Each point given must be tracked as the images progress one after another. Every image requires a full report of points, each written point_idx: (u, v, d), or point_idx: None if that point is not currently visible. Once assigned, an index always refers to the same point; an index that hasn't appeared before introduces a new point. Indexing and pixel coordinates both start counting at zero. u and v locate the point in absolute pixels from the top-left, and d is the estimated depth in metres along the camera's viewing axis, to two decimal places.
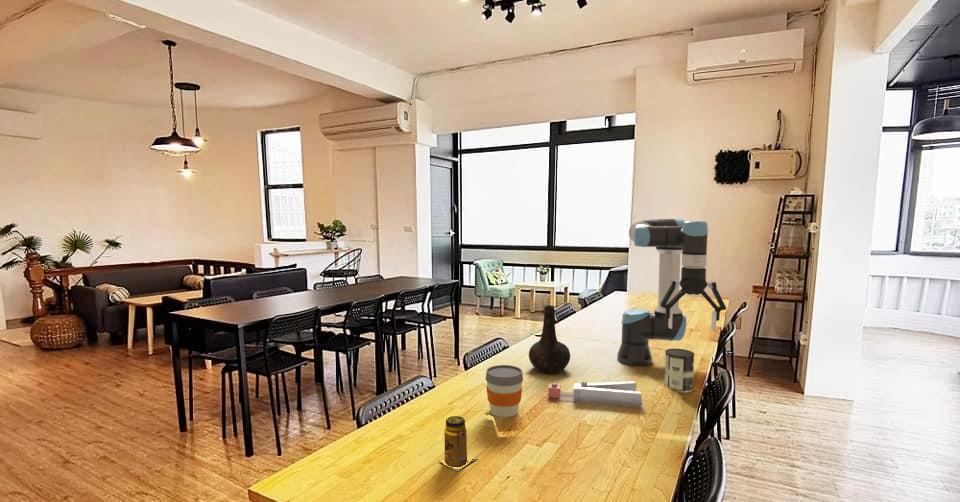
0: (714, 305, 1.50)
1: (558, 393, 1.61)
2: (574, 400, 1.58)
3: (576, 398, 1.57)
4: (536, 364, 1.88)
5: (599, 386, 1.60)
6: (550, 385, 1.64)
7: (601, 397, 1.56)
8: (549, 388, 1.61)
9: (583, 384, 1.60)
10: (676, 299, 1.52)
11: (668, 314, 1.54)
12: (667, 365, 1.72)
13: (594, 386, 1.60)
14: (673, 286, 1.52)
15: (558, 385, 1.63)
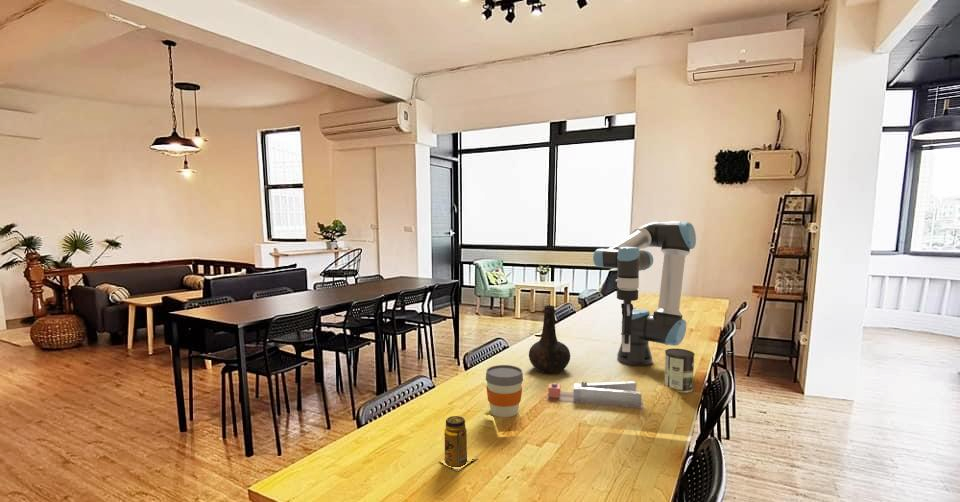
0: (623, 328, 1.66)
1: (558, 393, 1.61)
2: (574, 400, 1.58)
3: (576, 398, 1.57)
4: (536, 364, 1.88)
5: (599, 386, 1.60)
6: (550, 385, 1.64)
7: (601, 397, 1.56)
8: (549, 388, 1.61)
9: (583, 384, 1.60)
10: (623, 321, 1.68)
11: None
12: (667, 365, 1.72)
13: (594, 386, 1.60)
14: None
15: (558, 385, 1.63)
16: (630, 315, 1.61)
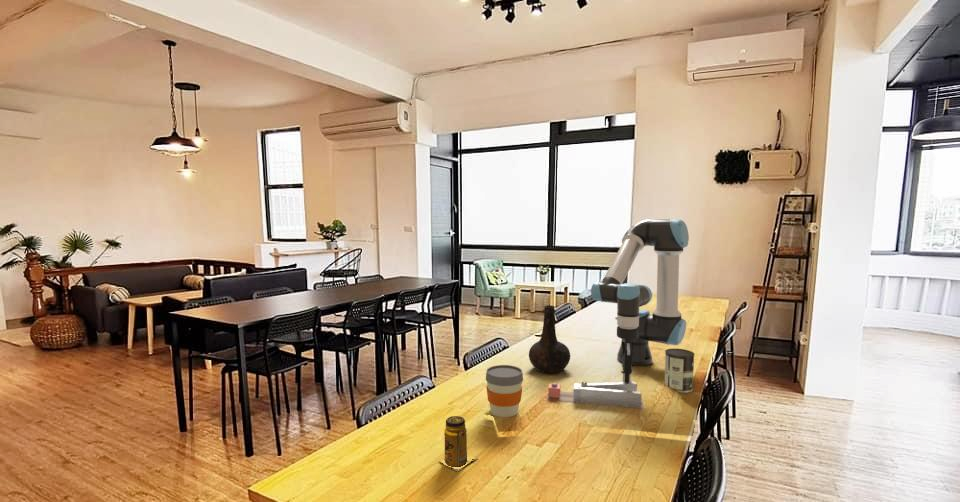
0: None
1: (558, 393, 1.61)
2: (574, 400, 1.58)
3: (576, 398, 1.57)
4: (536, 364, 1.88)
5: (599, 386, 1.60)
6: (550, 385, 1.64)
7: (601, 397, 1.56)
8: (549, 388, 1.61)
9: (583, 384, 1.60)
10: (623, 359, 1.66)
11: None
12: (667, 365, 1.72)
13: (594, 386, 1.60)
14: None
15: (558, 385, 1.63)
16: (630, 355, 1.58)
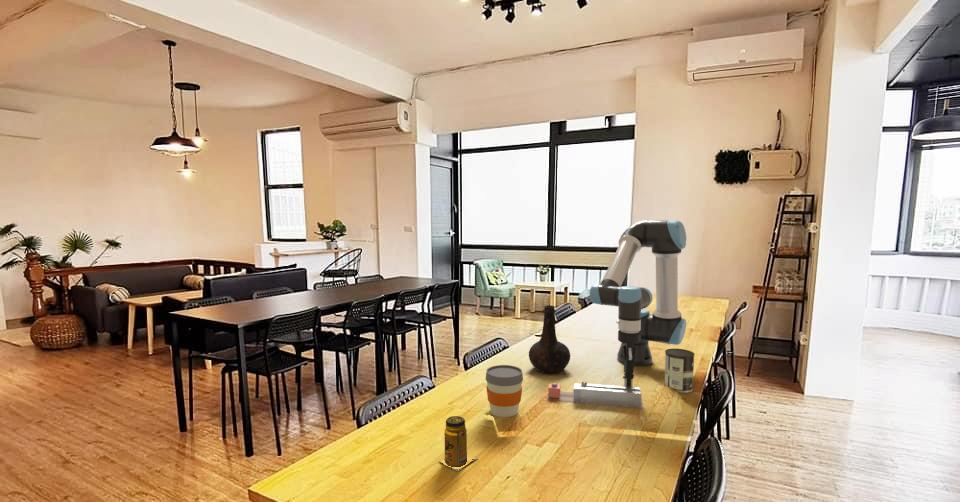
0: (625, 371, 1.59)
1: (558, 393, 1.61)
2: (574, 400, 1.58)
3: (576, 398, 1.57)
4: (536, 364, 1.88)
5: None
6: (550, 385, 1.64)
7: (601, 397, 1.56)
8: (549, 388, 1.61)
9: (582, 384, 1.60)
10: None
11: None
12: (667, 365, 1.72)
13: (594, 387, 1.59)
14: None
15: (558, 385, 1.63)
16: (632, 359, 1.54)
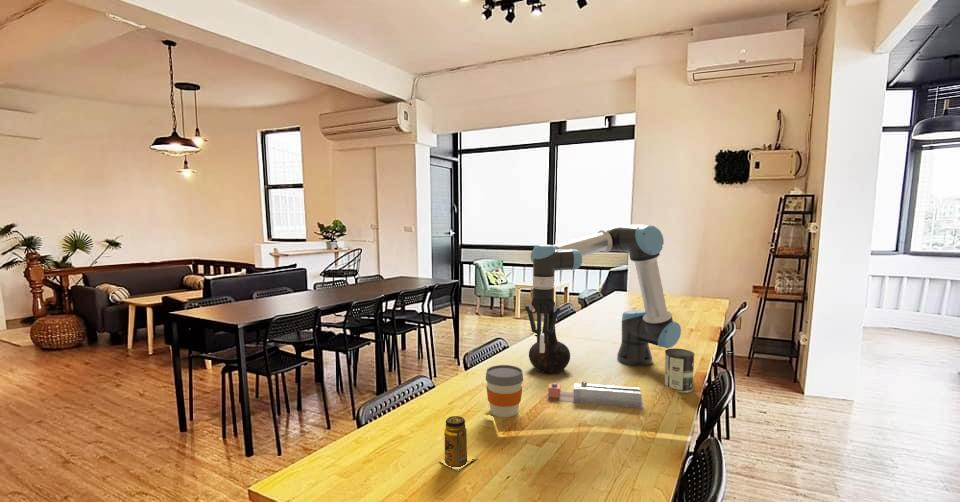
0: (545, 328, 1.61)
1: (558, 393, 1.61)
2: (574, 400, 1.58)
3: (576, 398, 1.57)
4: (536, 364, 1.88)
5: None
6: (550, 385, 1.64)
7: (601, 397, 1.56)
8: (549, 388, 1.61)
9: (582, 384, 1.60)
10: (538, 322, 1.62)
11: (538, 339, 1.63)
12: (667, 365, 1.72)
13: (594, 387, 1.59)
14: (528, 311, 1.63)
15: (558, 385, 1.63)
16: None
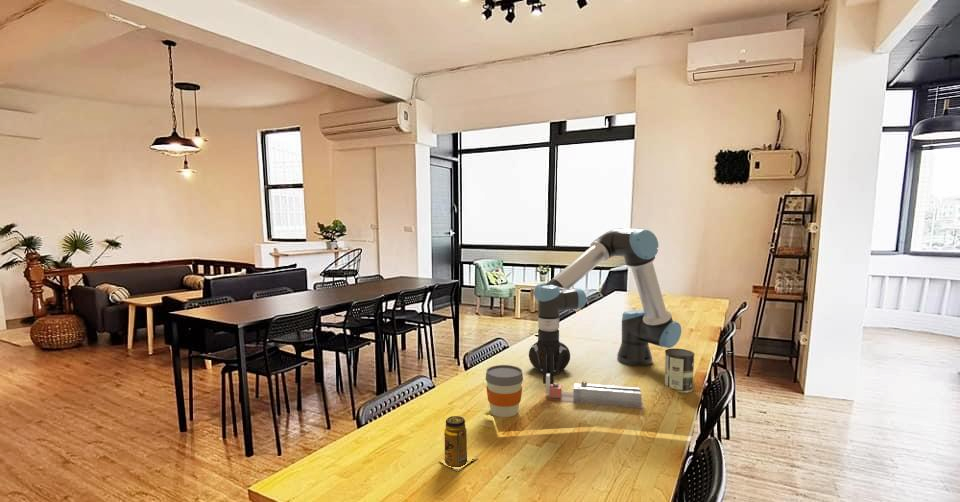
0: (551, 369, 1.62)
1: (559, 393, 1.61)
2: (574, 400, 1.58)
3: (576, 398, 1.57)
4: None
5: None
6: (551, 385, 1.63)
7: (601, 397, 1.56)
8: (550, 388, 1.61)
9: (582, 384, 1.60)
10: (544, 363, 1.62)
11: (544, 380, 1.63)
12: (667, 365, 1.72)
13: (594, 387, 1.59)
14: (534, 352, 1.63)
15: (559, 385, 1.63)
16: None
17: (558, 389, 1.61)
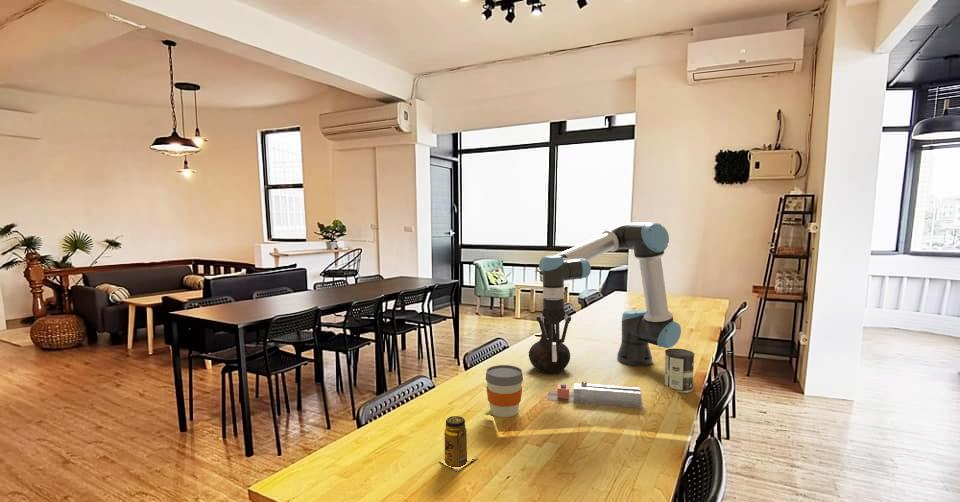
0: (557, 337, 1.64)
1: (567, 394, 1.60)
2: (574, 400, 1.58)
3: (576, 398, 1.57)
4: (536, 364, 1.88)
5: None
6: (559, 386, 1.63)
7: (601, 397, 1.56)
8: (558, 389, 1.61)
9: (582, 384, 1.60)
10: (550, 332, 1.65)
11: (551, 348, 1.66)
12: (667, 365, 1.72)
13: (594, 387, 1.59)
14: (539, 321, 1.65)
15: (567, 386, 1.63)
16: None
17: (566, 390, 1.60)
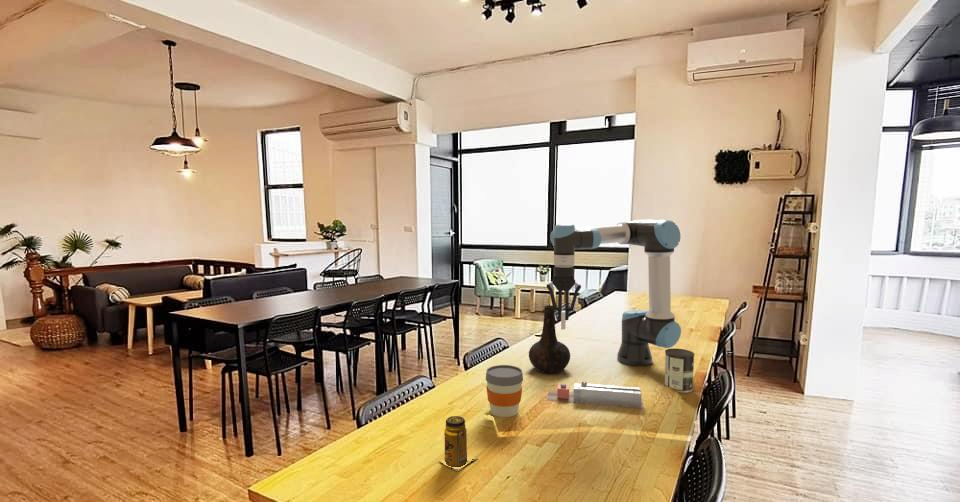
0: (566, 305, 1.66)
1: (567, 394, 1.60)
2: (574, 400, 1.58)
3: (576, 398, 1.57)
4: (536, 364, 1.88)
5: None
6: (559, 386, 1.63)
7: (601, 397, 1.56)
8: (558, 389, 1.61)
9: (582, 384, 1.60)
10: (559, 300, 1.67)
11: (560, 316, 1.68)
12: (667, 365, 1.72)
13: (594, 387, 1.59)
14: (549, 289, 1.67)
15: (567, 386, 1.63)
16: None
17: (566, 390, 1.60)
